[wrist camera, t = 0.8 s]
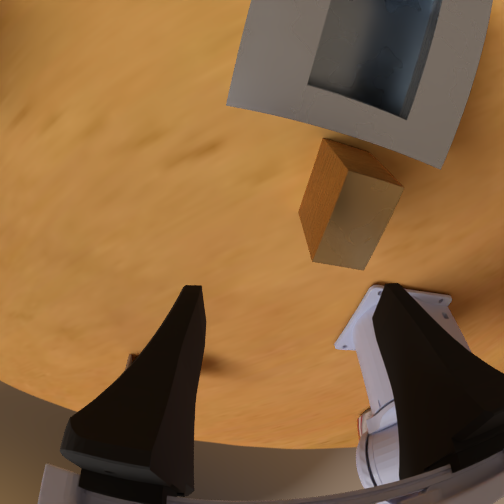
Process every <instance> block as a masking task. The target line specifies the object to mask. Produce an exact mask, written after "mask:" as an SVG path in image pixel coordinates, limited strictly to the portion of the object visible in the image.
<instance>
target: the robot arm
mask: <svg viewBox="0 0 504 504" xmlns="http://www.w3.org/2000/svg"><path fill="white" fill-rule="evenodd" d="M379 291H380V292H379ZM451 301H452V298H451V296H450V295H445V294H437V293H430V292H423V291H416V290H409V289H404V288H403V287H402V286H401V285H400V284H398V283H391V284H385V286H382V285H373V286H371V287H370V288H369V290H368V291H367V293H366V295H365V296H364V298H363V300H362V301H361V303H360V305H359V306H358V308H357V310H356V311H355V313H354V314H353V316H352V318H351V319H350V321H349V322H348V324H347V325H346V327H345V329H344V330H343V332H342V333H341V335H340V336H339V338H338V339H337V341H336V342H335V344H334V345H335V348H336V349H341V350H356V352H357V356H358V360H359V363H360V367H361V371H362V375H363V379H364V383H365V386H366V390H367V394H368V398H369V403H370V407H371V411H372V415H373V417H372V418H370V419H367V420H366V424H367V428H368V431H366V432H365V433H363V434H362V436H361V438H360V440H359V444H358V446H357V450H356V465H357V471H358V475H359V478H360V481H361V483H362V485H363V487H364V489H361V490H356V491H351V492H345V493H339V494H333V495H326V496H318V497H310V498H300V499H289V500H288V499H287V500H270V501H220V500H202V499H191V498H181V497H185V496H188V495H189V494H191V493H192V492H193V491H194V421H195V403H196V394H197V388H198V382H199V376H200V370H201V365H202V359H203V353H204V347H205V334H206V316H205V309H204V301H203V293H202V286H197V285H185V286H184V287H183V289H182V291H181V293H180V295H179V296H178V298H177V300H176V302H175V304H174V305H173V307H172V309H171V310H170V312H169V314H168V315H167V317H166V318H165V320H164V321H163V323H162V324H161V326H160V328H159V329H158V330H157V332H156V333H155V335H154V336H153V337H152V339H151V340H150V342H149V343H148V344H147V346H146V347H145V348H144V349H143V351H142V352H141V353H140V354H139V356H138V357H137V358H136V359H135V360H134V362H133V363H132V364H131V365H130V366H129V367H128V368H127V369H126V370H125V371H124V372H123V373H122V375H121V376H120V377H119V378H118V379H117V380H116V381H115V382H114V383H113V384H111V385H110V386H109V387H108V388H107V389H106V390H105V391H104V392H102V393H101V394H100V395H99V396H98V397H97V398H96V399H94V400H93V401H92V402H91V403H89V404H88V405H87V406H85V407H84V408H83V409H81V410H80V411H79V412H77V413H76V414H74V415H73V416H72V417H70V419H69V422H68V424H67V426H66V429H65V432H64V436H63V440H62V444H61V448H60V452H61V454H62V455H63V456H64V457H65V458H66V459H68V460H69V461H71V462H73V463H74V464H76V465H77V466H79V467H80V468H82V470H81V475H79V474H77V473H75V472H71V471H69V470H66V469H63V468H60V467H57V466H54V465H51V464H48V463H47V464H46V466H45V470H44V474H43V479H42V484H41V489H40V494H39V500H38V504H375V503H376V504H493V503H495V502H496V501H498V500H499V499H501V498H502V497H504V374H503V373H502V372H500V371H498V370H497V369H495V368H493V367H492V366H490V365H488V364H487V363H485V362H484V361H482V360H481V359H480V358H478V357H477V356H475V355H474V354H473V353H471V350H470V348H469V346H468V344H467V342H466V340H465V338H464V336H463V334H462V332H461V330H460V328H459V326H458V325H457V323H456V321H455V319H454V317H453V315H452V313H451V312H450V310H449V308H448V305H449V304H450V303H451ZM177 496H181V497H177Z"/></svg>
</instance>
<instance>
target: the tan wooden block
mask: <svg viewBox="0 0 504 504" xmlns="http://www.w3.org/2000/svg"><path fill="white" fill-rule="evenodd" d="M403 190H404V187H403V186H402V185H401V184H400V183H399V182H398V181H397V180H396V179H395V178H394V177H393V175H392V174H391V173H390V172H389V171H388V170H387V169H386V168H385V167H384V166H383V165H382V164H381V163H380V162H379V161H378V160H377V159H376V158H375V157H374V156H372V155H371V154H370V153H369V152H367V151H364V150H361V149H358V148H355V147H352V146H348V145H345V144H342V143H338V142H335V141H332V140H328V139H325V138H323V139H322V142H321V145H320V148H319V151H318V154H317V157H316V161H315V164H314V167H313V170H312V173H311V176H310V179H309V182H308V185H307V188H306V191H305V194H304V197H303V200H302V203H301V206H300V209H299V212H298V213H299V216H300V220H301V223H302V227H303V230H304V234H305V238H306V241H307V245H308V248H309V252H310V256H311V259H312V262H317V263H323V264H329V265H335V266H341V267H347V268H353V269H358V270H364V269H365V267H366V265H367V263H368V261H369V260H370V258H371V256H372V254H373V252H374V250H375V248H376V246H377V244H378V242H379V240H380V238H381V236H382V234H383V232H384V230H385V228H386V226H387V224H388V222H389V220H390V218H391V216H392V214H393V211H394V209H395V207H396V205H397V203H398V201H399V199H400V196H401V194H402V192H403Z"/></svg>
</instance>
